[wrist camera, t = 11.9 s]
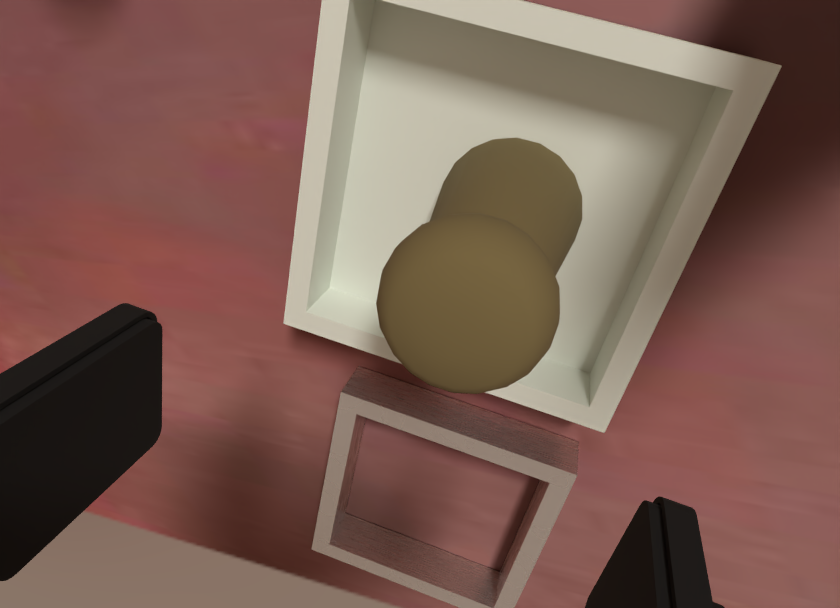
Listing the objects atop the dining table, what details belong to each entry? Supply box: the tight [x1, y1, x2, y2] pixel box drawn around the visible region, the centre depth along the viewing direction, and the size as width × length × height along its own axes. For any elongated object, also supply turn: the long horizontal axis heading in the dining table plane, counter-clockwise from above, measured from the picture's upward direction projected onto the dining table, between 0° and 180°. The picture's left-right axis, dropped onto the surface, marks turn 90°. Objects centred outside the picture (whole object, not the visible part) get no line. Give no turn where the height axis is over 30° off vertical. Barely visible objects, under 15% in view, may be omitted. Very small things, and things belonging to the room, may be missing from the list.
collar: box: [312, 366, 579, 608], centre depth 33 cm, size 12×12×2 cm
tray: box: [284, 0, 782, 433], centre depth 24 cm, size 15×15×4 cm
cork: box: [376, 138, 582, 394], centre depth 20 cm, size 6×6×11 cm
